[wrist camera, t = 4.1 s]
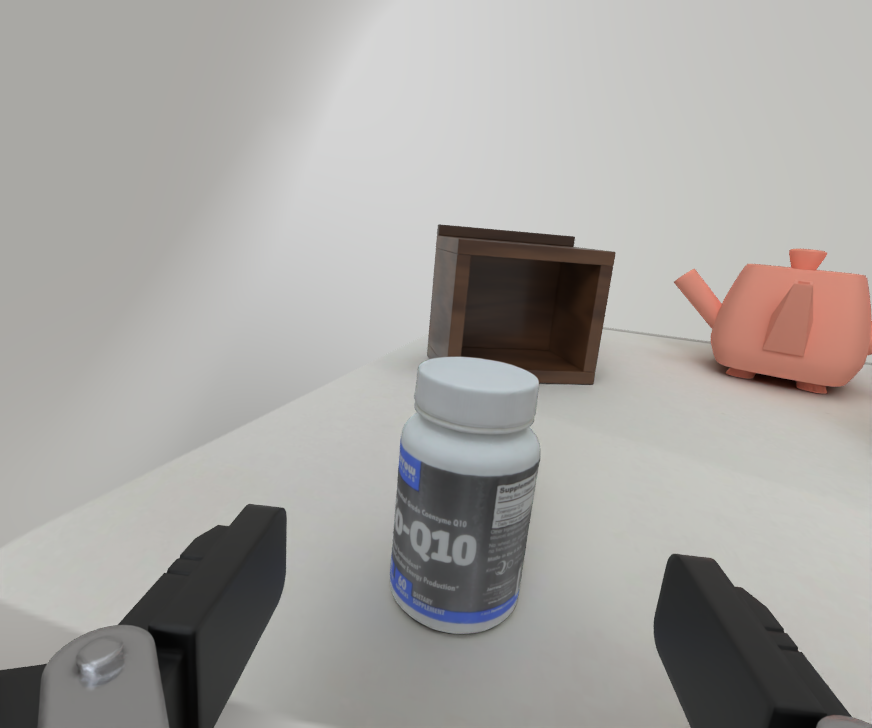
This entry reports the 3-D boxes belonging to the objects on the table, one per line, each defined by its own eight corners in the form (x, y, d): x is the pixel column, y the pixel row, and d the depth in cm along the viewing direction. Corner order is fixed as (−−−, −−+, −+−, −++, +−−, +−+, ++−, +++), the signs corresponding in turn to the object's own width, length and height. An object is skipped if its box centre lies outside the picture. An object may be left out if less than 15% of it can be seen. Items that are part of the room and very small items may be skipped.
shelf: (593, 384, 48) (617, 240, 45) (445, 380, 45) (460, 226, 42) (553, 359, 57) (571, 236, 53) (426, 354, 54) (437, 224, 50)
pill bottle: (361, 588, 19) (374, 364, 17) (444, 537, 22) (463, 346, 20) (467, 664, 16) (498, 404, 14) (542, 591, 20) (576, 376, 17)
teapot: (776, 357, 69) (805, 250, 65) (929, 405, 51) (978, 263, 48) (653, 352, 65) (676, 238, 61) (773, 402, 47) (815, 247, 44)
